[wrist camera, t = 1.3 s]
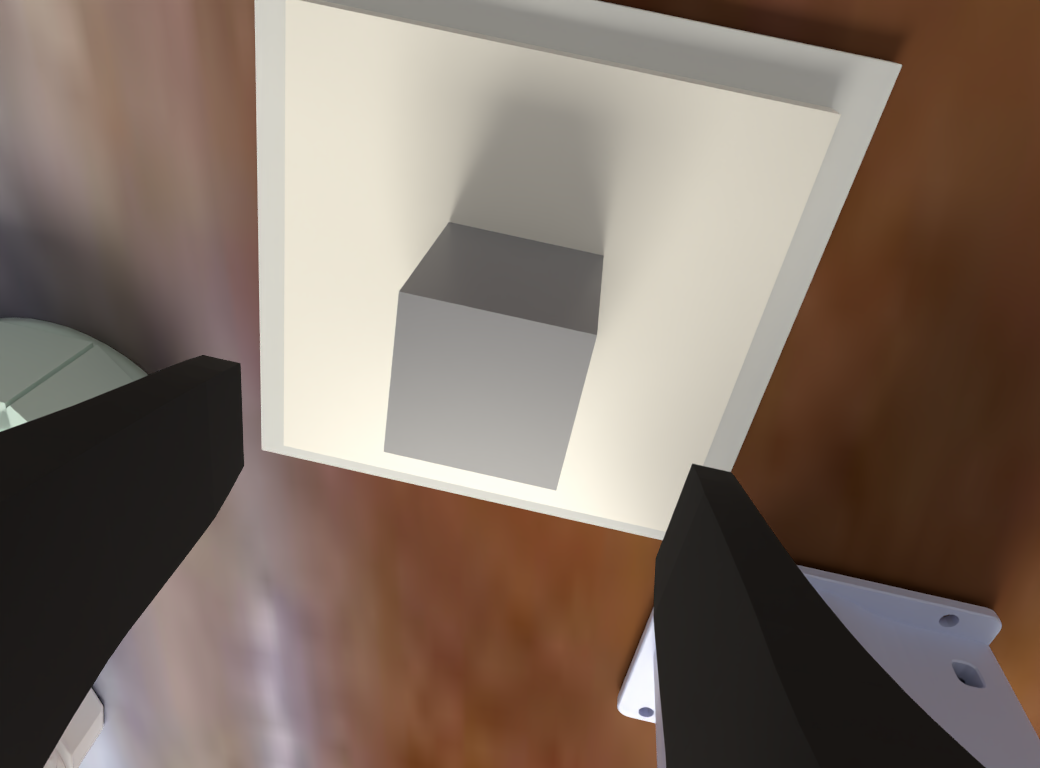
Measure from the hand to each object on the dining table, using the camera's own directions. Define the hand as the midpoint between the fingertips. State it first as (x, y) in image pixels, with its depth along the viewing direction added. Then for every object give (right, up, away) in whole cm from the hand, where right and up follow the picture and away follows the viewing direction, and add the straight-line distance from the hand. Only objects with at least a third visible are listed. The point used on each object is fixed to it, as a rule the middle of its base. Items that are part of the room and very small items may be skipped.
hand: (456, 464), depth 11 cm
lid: (+1, +3, +6) cm, 7 cm away
